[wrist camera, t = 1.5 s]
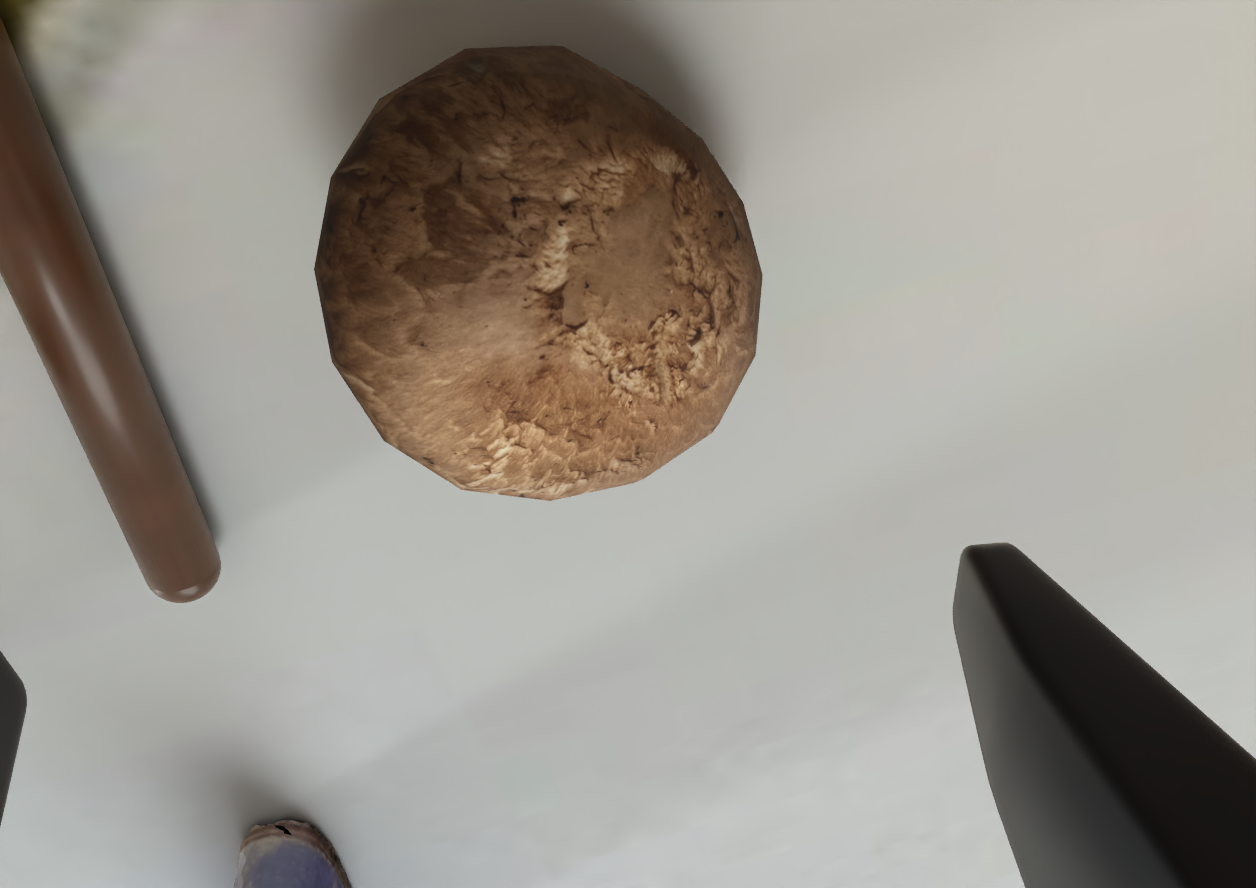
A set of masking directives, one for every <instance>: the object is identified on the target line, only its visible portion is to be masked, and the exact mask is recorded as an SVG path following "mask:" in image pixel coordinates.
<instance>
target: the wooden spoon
mask: <svg viewBox="0 0 1256 888" xmlns="http://www.w3.org/2000/svg"><path fill="white" fill-rule="evenodd" d="M0 272H1V275H2V277H3V279H4V281H5V283H6V285H7V287H8V289H9V291H10V294H11V296H12V298H13V300H14V302H15V304H16V306H17V308H18V311H19V313H20V315H21V317H22V319H23V321H24V323H25V325H26V328H27V330H28V332H29V334H30V336H31V338H32V340H33V342H34V345H35V347H36V349H37V351H38V353H39V355H40V357H41V359H42V362H43V364H44V366H45V368H46V370H47V372H48V374H49V376H50V379H51V381H52V383H53V385H54V387H55V389H56V391H57V393H58V396H59V398H60V400H61V402H62V404H63V406H64V408H65V410H66V413H67V415H68V417H69V419H70V421H71V423H72V425H73V427H74V430H75V432H76V434H77V436H78V438H79V440H80V442H81V444H82V447H83V449H84V451H85V453H86V455H87V457H88V459H89V461H90V464H91V466H92V468H93V470H94V472H95V474H96V476H97V478H98V481H99V483H100V485H101V487H102V489H103V491H104V493H105V495H106V498H107V500H108V502H109V504H110V506H111V508H112V510H113V512H114V515H115V517H116V519H117V521H118V523H119V525H120V527H121V529H122V531H123V534H124V536H125V538H126V540H127V542H128V544H129V546H130V548H131V551H132V553H133V555H134V557H135V559H136V561H137V563H138V565H139V568H140V570H141V572H142V574H143V576H144V578H145V580H146V582H147V584H148V586H149V587H150V589H151V590H152V591H153V592H154V593H155V594H156V595H157V596H159V597H161V598H162V599H165V600H167V601H170V602H175V603H186V602H191V601H194V600H197V599H199V598H201V597H203V596H204V595H206V594H207V593H208V592H209V591H210V590H211V589H212V588H213V587H214V585H215V584H216V582H217V580H218V578H219V574H220V570H221V561H220V557H219V553H218V550H217V548H216V545H215V543H214V541H213V538H212V536H211V533H210V531H209V528H208V526H207V523H206V521H205V518H204V516H203V513H202V511H201V509H200V506H199V504H198V501H197V499H196V496H195V494H194V491H193V489H192V486H191V484H190V482H189V479H188V477H187V474H186V472H185V469H184V467H183V464H182V462H181V459H180V457H179V454H178V452H177V450H176V447H175V445H174V442H173V440H172V437H171V435H170V432H169V430H168V427H167V425H166V422H165V420H164V418H163V415H162V413H161V410H160V408H159V405H158V403H157V400H156V398H155V395H154V393H153V390H152V388H151V386H150V383H149V381H148V378H147V376H146V373H145V371H144V368H143V366H142V363H141V361H140V358H139V356H138V354H137V351H136V349H135V346H134V344H133V341H132V339H131V336H130V334H129V331H128V329H127V327H126V324H125V322H124V319H123V317H122V314H121V312H120V309H119V307H118V304H117V302H116V299H115V297H114V295H113V292H112V290H111V287H110V285H109V282H108V280H107V277H106V275H105V272H104V270H103V267H102V265H101V263H100V260H99V258H98V255H97V253H96V250H95V248H94V245H93V243H92V240H91V238H90V235H89V233H88V231H87V228H86V226H85V223H84V221H83V218H82V216H81V213H80V211H79V208H78V206H77V203H76V201H75V199H74V196H73V194H72V191H71V189H70V186H69V184H68V181H67V179H66V176H65V174H64V172H63V169H62V167H61V164H60V162H59V159H58V157H57V154H56V152H55V149H54V147H53V144H52V142H51V140H50V137H49V135H48V132H47V130H46V127H45V125H44V122H43V120H42V117H41V115H40V112H39V110H38V108H37V105H36V103H35V100H34V98H33V95H32V93H31V90H30V88H29V85H28V83H27V80H26V78H25V76H24V73H23V71H22V68H21V66H20V63H19V61H18V58H17V56H16V53H15V51H14V48H13V46H12V44H11V41H10V39H9V36H8V34H7V31H6V29H5V26H4V24H3V21H2V19H1V17H0Z"/></svg>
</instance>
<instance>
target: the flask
mask: <svg viewBox="0 0 1256 888" xmlns="http://www.w3.org/2000/svg"><path fill="white" fill-rule="evenodd" d="M276 825H282V826H285V829H288V831H289V832H290V833H291V834H292V835H288V834H283V833H284V831H282V830H279V829H278V828H276V827H275V826H276ZM319 833H320V832H318V831H317V830H316V828H315V829H312V828H311V827H310V825H309V824H308V823H300V822H297V821H294V820H282V821H278V822H276V823H275V825H273V824H268V825H267V826H266V827H265V825H263V826H261V827H260V825H256V824H255V825H254V826H253V827H252V829H251V831H250V832H249V834H248V835H247V836H246V838H245V839H244V841H243V842H242V844H241V849H240V852H239V856H238V873H237V877H236V880H235V884H234V888H351V886H350V884H349V881H348V879H347V878H346V876H347V875H346V873H345V872H343V870H342V869H343V868H342V866H341V863H340V860H339V859H338V858H337V856H336V855H335V852H334V849H333V847H332V846H331V844H329V843H328V841H326V840H325V839H324V838H323V837H322V836H321V835H320V834H319Z"/></svg>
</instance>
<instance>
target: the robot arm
mask: <svg viewBox="0 0 1256 888" xmlns="http://www.w3.org/2000/svg"><path fill="white" fill-rule="evenodd" d="M953 623H954V630H955V635H956V640H957V644H958V648H959V653H960V657H961V662H962V666H963V671H964V675H965V680H966V684H967V688H968V693H969V697H970V702H971V706H972V711H973V715H974V720H975V724H976V728H977V733H978V737H979V742H980V746H981V751H982V755H983V759H984V764H985V768H986V772H987V776H988V780H989V784H990V787H991V790H992V793H993V796H994V800H995V803H996V806H997V809H998V812H999V815H1000V817H1001V820H1002V823H1003V826H1004V829H1005V832H1006V834H1007V837H1008V840H1009V843H1010V846H1011V849H1012V851H1013V854H1014V857H1015V860H1016V863H1017V865H1018V868H1019V871H1020V874H1021V877H1022V880H1023V882H1024V885H1025V888H1256V759H1255V758H1254V757H1253V756H1252V755H1250V754H1249V753H1248V752H1247V751H1246V750H1245V749H1244V748H1243V747H1241V746H1240V745H1239V744H1238V743H1237V742H1236V741H1235V740H1233V739H1232V738H1231V737H1230V736H1229V735H1228V734H1227V733H1226V732H1224V731H1223V730H1222V729H1221V728H1220V727H1219V726H1218V725H1217V724H1215V723H1214V722H1213V721H1212V720H1211V719H1210V718H1209V717H1207V716H1206V715H1205V714H1204V713H1203V712H1202V711H1201V710H1200V709H1198V708H1197V707H1196V706H1195V705H1194V704H1193V703H1192V702H1191V701H1189V700H1188V699H1187V698H1186V697H1185V696H1184V695H1183V694H1182V693H1180V692H1179V691H1178V690H1177V689H1176V688H1175V687H1174V686H1172V685H1171V684H1170V683H1169V682H1168V681H1167V680H1166V679H1165V678H1163V677H1162V676H1161V675H1160V674H1159V673H1158V672H1157V671H1156V670H1154V669H1153V668H1152V667H1151V666H1150V665H1149V664H1148V663H1146V662H1145V661H1144V660H1143V659H1142V658H1141V657H1140V656H1139V655H1137V654H1136V653H1135V652H1134V651H1133V650H1132V649H1131V648H1130V647H1128V646H1127V645H1126V644H1125V643H1124V642H1123V641H1122V640H1120V639H1119V638H1118V637H1117V636H1116V635H1115V634H1114V633H1113V632H1111V631H1110V630H1109V629H1108V628H1107V627H1106V626H1105V625H1104V624H1102V623H1101V622H1100V621H1099V620H1098V619H1097V618H1096V617H1095V616H1093V615H1092V614H1091V613H1090V612H1089V611H1088V610H1087V609H1085V608H1084V607H1083V606H1082V605H1081V604H1080V603H1079V602H1078V601H1076V600H1075V599H1074V598H1073V597H1072V596H1071V595H1070V594H1069V593H1067V592H1066V591H1065V590H1064V589H1063V588H1062V587H1061V586H1059V585H1058V584H1057V583H1056V582H1055V581H1054V580H1053V579H1052V578H1050V577H1049V576H1048V575H1047V574H1046V573H1045V572H1044V571H1043V570H1041V569H1040V568H1039V567H1038V566H1037V565H1036V564H1035V563H1033V562H1032V561H1031V560H1030V559H1029V558H1028V557H1027V556H1026V555H1024V554H1023V553H1022V552H1021V551H1020V550H1019V549H1018V548H1016V547H1015V546H1013V545H1011V544H1009V543H992V544H980V545H970V546H968V547H966V548H965V549H964V550H963V552H962V554H961V557H960V563H959V570H958V576H957V583H956V589H955V596H954V602H953ZM26 707H27V697H26V690H25V687H24V684H23V682H22V681H21V679H20V678H19V676H18V675H17V673H16V672H15V671H14V669H13V668H12V666H11V665H10V664H9V662H8V661H7V660H6V658H5V657H4V655H3V654H2V653H1V651H0V825H1V821H2V816H3V812H4V807H5V803H6V798H7V794H8V789H9V785H10V781H11V776H12V772H13V767H14V763H15V758H16V754H17V749H18V745H19V740H20V736H21V731H22V727H23V722H24V718H25V713H26Z"/></svg>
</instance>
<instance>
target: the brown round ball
mask: <svg viewBox="0 0 1256 888" xmlns="http://www.w3.org/2000/svg"><path fill="white" fill-rule="evenodd" d="M314 271H315V276H316V281H317V286H318V291H319V296H320V302H321V307H322V312H323V317H324V322H325V327H326V333H327V338H328V343H329V348H330V353H331V358H332V362H333V364H334V365H335V367H336V368H337V370H338V372H339V373H340V375H341V376H342V378H343V379H344V381H345V382H346V384H347V385H348V387H349V388H350V390H351V391H352V393H353V394H354V396H355V397H356V399H357V400H358V402H359V403H360V405H361V406H362V408H363V410H364V411H365V413H366V414H367V416H368V417H369V419H370V420H371V422H372V423H373V425H374V426H375V428H376V429H377V431H378V432H379V434H380V435H381V437H382V438H383V440H384V441H385V442H387V443H388V444H390V445H392V446H393V447H395V448H396V449H398V450H400V451H401V452H403V453H404V454H406V455H407V456H409V457H411V458H412V459H414V460H415V461H417V462H419V463H420V464H422V465H423V466H425V467H427V468H428V469H430V470H431V471H433V472H434V473H436V474H438V475H439V476H441V477H442V478H444V479H446V480H447V481H449V482H450V483H452V484H454V485H455V486H457V487H458V488H460V489H461V490H468V491H476V492H484V493H492V494H500V495H508V496H516V497H524V498H532V499H540V500H548V501H551V500H556V499H560V498H565V497H570V496H574V495H579V494H584V493H589V492H593V491H598V490H603V489H607V488H612V487H617V486H622V485H626V484H631V483H634V482H637V481H639V480H641V479H644V478H646V477H647V476H649V475H650V474H651V473H653V472H654V471H656V470H657V469H659V468H660V467H662V466H663V465H665V464H666V463H668V462H669V461H671V460H672V459H674V458H675V457H677V456H678V455H680V454H681V453H683V452H684V451H686V450H687V449H689V448H690V447H691V446H693V445H694V444H696V443H697V442H699V441H700V440H702V439H703V438H705V437H706V436H708V435H709V434H711V433H712V432H713V431H714V429H715V428H716V427H717V425H718V424H719V422H720V420H721V419H722V417H723V415H724V413H725V411H726V409H727V407H728V405H729V404H730V402H731V400H732V398H733V396H734V394H735V392H736V391H737V389H738V387H739V385H740V383H741V381H742V379H743V377H744V376H745V374H746V372H747V370H748V368H749V366H750V364H751V363H752V361H753V359H754V357H755V354H756V343H757V332H758V320H759V309H760V297H761V286H762V272H761V268H760V264H759V261H758V257H757V253H756V249H755V246H754V242H753V238H752V234H751V231H750V227H749V223H748V219H747V216H746V212H745V208H744V204H743V202H742V200H741V199H740V197H739V196H738V194H737V193H736V191H735V189H734V188H733V186H732V185H731V183H730V182H729V180H728V179H727V177H726V175H725V174H724V172H723V171H722V169H721V168H720V166H719V165H718V163H717V162H716V160H715V158H714V157H713V155H712V154H711V152H710V151H709V149H708V148H707V146H706V144H705V143H704V141H703V140H702V138H700V137H699V136H698V135H697V134H695V133H694V132H693V131H692V130H691V129H689V128H688V127H687V126H686V125H684V124H683V123H682V122H681V121H679V120H678V119H677V118H676V117H674V116H673V115H672V114H671V113H670V112H668V111H667V110H666V109H665V108H663V107H662V106H661V105H660V104H658V103H657V102H656V101H655V100H654V99H652V98H651V97H650V96H649V95H647V94H646V93H645V92H644V91H642V90H641V89H639V88H637V87H635V86H633V85H632V84H630V83H628V82H626V81H624V80H623V79H621V78H619V77H617V76H615V75H614V74H612V73H610V72H608V71H606V70H605V69H603V68H601V67H599V66H597V65H596V64H594V63H592V62H590V61H588V60H587V59H585V58H583V57H581V56H579V55H578V54H576V53H574V52H572V51H570V50H568V49H567V48H565V47H561V46H525V47H497V48H470V49H464V50H462V51H461V52H459V53H457V54H456V55H454V56H452V57H451V58H449V59H447V60H445V61H444V62H442V63H440V64H439V65H437V66H435V67H433V68H432V69H430V70H428V71H427V72H425V73H423V74H421V75H420V76H418V77H416V78H415V79H413V80H411V81H409V82H408V83H406V84H404V85H403V86H401V87H399V88H397V89H396V90H394V91H392V92H391V93H389V94H387V95H386V96H384V97H382V98H380V99H379V101H378V102H377V104H376V105H375V107H374V109H373V110H372V112H371V113H370V115H369V117H368V118H367V120H366V122H365V123H364V125H363V126H362V128H361V130H360V131H359V133H358V135H357V136H356V138H355V139H354V141H353V143H352V144H351V146H350V147H349V149H348V151H347V152H346V154H345V156H344V157H343V159H342V160H341V162H340V164H339V165H338V167H337V169H336V170H335V172H334V173H333V175H332V177H331V180H330V186H329V191H328V196H327V202H326V207H325V213H324V218H323V224H322V229H321V235H320V240H319V246H318V251H317V257H316V262H315V268H314Z"/></svg>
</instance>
